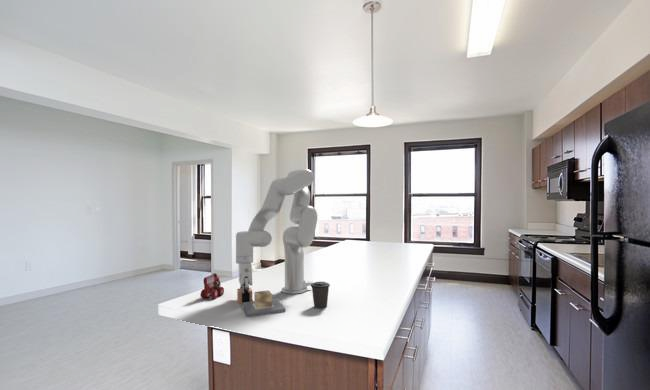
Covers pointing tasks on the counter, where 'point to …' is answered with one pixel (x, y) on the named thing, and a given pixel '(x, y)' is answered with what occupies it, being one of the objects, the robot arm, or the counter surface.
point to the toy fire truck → (212, 287)
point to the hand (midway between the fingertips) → (244, 299)
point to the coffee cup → (320, 294)
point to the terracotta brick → (239, 295)
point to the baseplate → (254, 311)
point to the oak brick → (263, 299)
